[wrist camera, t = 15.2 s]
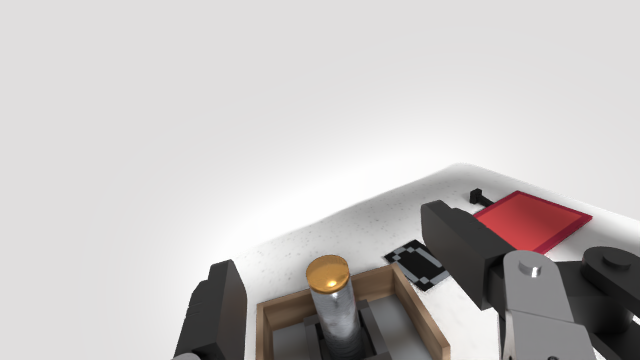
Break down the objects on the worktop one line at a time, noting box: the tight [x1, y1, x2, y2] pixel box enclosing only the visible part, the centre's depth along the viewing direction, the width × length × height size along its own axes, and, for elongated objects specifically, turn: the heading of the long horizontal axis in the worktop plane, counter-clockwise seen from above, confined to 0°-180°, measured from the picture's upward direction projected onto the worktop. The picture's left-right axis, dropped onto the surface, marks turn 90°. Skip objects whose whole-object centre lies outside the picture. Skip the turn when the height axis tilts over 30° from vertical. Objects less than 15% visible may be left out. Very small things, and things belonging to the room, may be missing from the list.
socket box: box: [256, 263, 450, 360], centre depth 32 cm, size 12×19×5 cm, turn 101°
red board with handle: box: [384, 188, 593, 292], centre depth 45 cm, size 30×3×15 cm
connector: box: [306, 255, 366, 360], centre depth 29 cm, size 4×4×13 cm
